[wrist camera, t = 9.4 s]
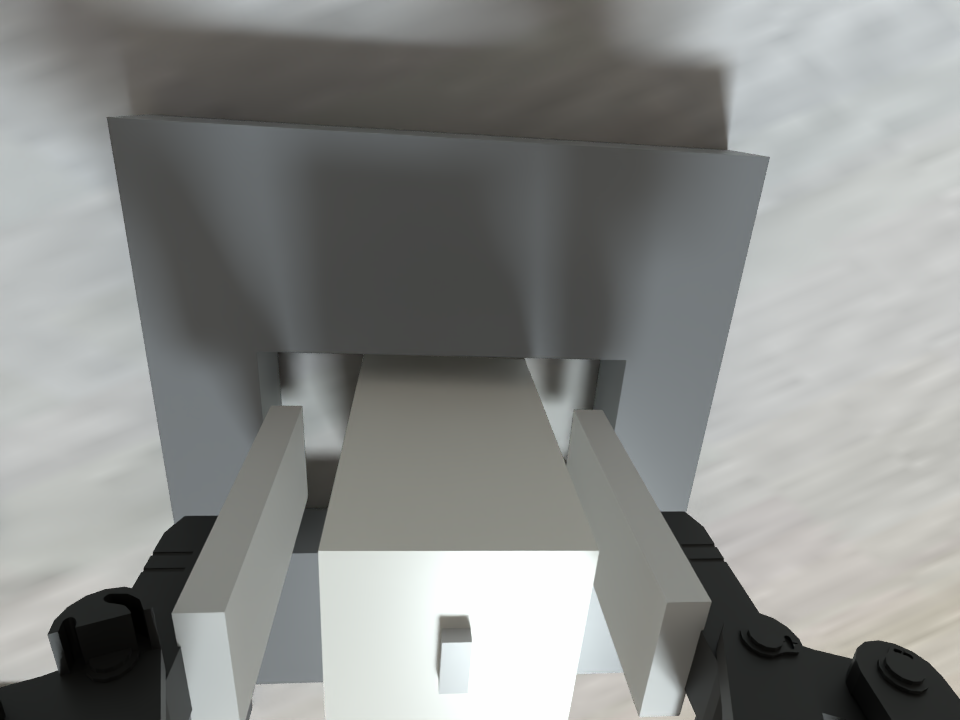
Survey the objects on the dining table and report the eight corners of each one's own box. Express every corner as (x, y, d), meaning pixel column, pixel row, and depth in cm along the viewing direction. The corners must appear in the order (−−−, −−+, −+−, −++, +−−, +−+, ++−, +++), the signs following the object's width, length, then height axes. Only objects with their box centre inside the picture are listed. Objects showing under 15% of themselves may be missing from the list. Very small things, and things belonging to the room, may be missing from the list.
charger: (364, 353, 17) (314, 564, 9) (524, 358, 17) (604, 563, 10) (364, 489, 19) (323, 761, 11) (510, 491, 19) (567, 752, 11)
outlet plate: (148, 115, 14) (101, 117, 12) (728, 150, 15) (774, 158, 13) (221, 632, 20) (199, 692, 18) (629, 623, 22) (650, 677, 20)
